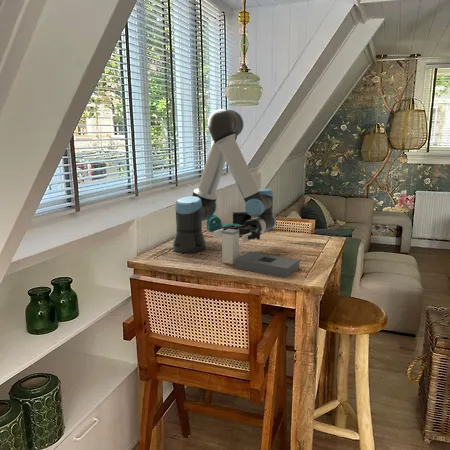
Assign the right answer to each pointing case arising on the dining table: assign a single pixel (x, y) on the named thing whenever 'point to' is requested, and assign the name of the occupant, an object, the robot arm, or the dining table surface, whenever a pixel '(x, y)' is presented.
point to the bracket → (216, 223)
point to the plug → (230, 245)
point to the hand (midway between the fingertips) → (228, 237)
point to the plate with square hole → (267, 264)
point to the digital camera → (240, 217)
